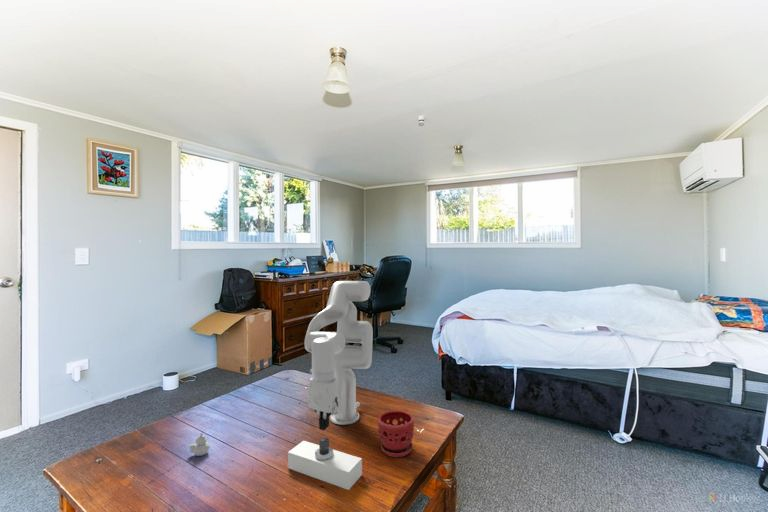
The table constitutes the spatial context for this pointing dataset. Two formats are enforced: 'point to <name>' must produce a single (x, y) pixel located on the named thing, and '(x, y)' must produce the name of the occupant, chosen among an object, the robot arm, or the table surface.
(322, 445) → the silver and black post
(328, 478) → the bar
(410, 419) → the plant pot
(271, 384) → the table surface
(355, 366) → the robot arm
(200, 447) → the grey rounded lumpy piece
